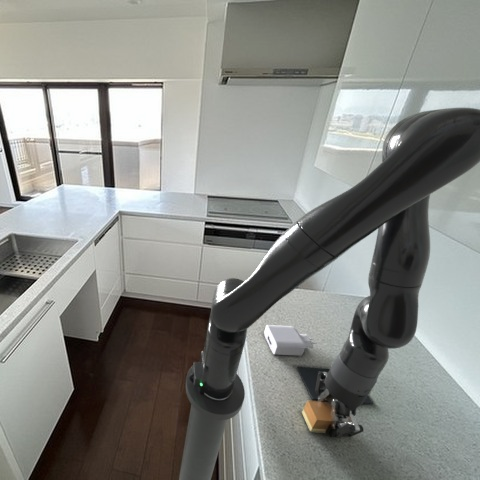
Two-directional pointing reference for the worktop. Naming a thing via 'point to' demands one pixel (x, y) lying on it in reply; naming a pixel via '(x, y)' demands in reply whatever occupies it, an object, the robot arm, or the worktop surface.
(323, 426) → the brush
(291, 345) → the charger
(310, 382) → the mat
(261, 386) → the worktop surface
